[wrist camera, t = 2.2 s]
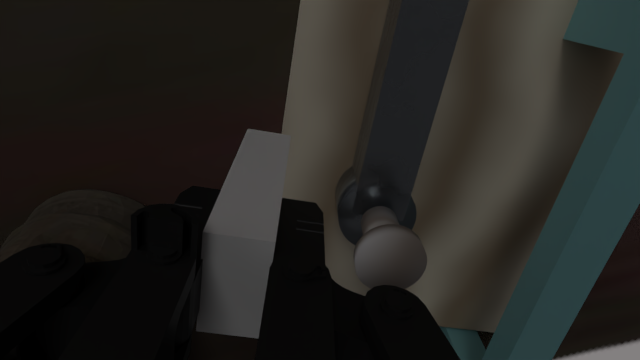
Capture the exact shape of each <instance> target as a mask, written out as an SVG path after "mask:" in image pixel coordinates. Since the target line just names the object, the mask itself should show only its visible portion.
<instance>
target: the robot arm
mask: <svg viewBox="0 0 640 360" xmlns="http://www.w3.org/2000/svg"><path fill="white" fill-rule="evenodd" d="M290 140H291V136H290V135H284V134H278V133H271V132H265V131H259V130H253V129H248V130H247V132H246V134H245V137H244V139H243V141H242V143H241V146H240V148H239V150H238V152H237V155H236V157H235V159H234V162H233V164H232V166H231V168H230V171H229V173H228V175H227V178H226V180H225V182H224V184H223V187H222V189H221V190H218V189H211V188H204V187H197V186H192V187H190V188H188V189H187V190H185V191H183V192H182V193H180V195H179V196H178V198H177V199H176V201H175V203H174V204H156V205H149V206H146V207H143V208H141V209H138V210H137V211H136V212H134V213H133V214H132V215H131V251H130V252H129V254H128V255H127V257H126V258H123V259H120V260H112V261H102V262H88V263H85V256H84V254H83V253H82V251H81V249H79V248H77V247H75V246H73V245H69V244H63V243H46V244H40V245H36V246H32V247H28V248H26V249H23V250H21V251H19V252H17V253H15V254H13V255H12V256H10V257H8V258H7V259H5V260H4V261H2V262H0V360H187V359H188V356H189V353H190V350H191V335H192V330H193V327H194V325H195V322H196V319H197V324H196V331H200V332H208V333H216V334H225V335H233V336H242V337H250V338H258V345H257V351H256V357H255V360H461V359H460V358H459V356H458V355H457V353H456V352H455V350H454V349H453V347H452V345H451V344H450V342H449V341H448V339H447V338H446V336H445V335H444V333H443V332H442V330H441V328H440V327H439V325H438V324H437V322H436V321H435V319H434V318H433V316H432V315H431V313H430V311H429V310H428V308H427V307H426V305H425V304H424V303H423V302H422V301H421V300H420V299H419V298H418V297H417V296H416V295H414V294H413V293H411V292H410V291H408V290H406V289H403V288H400V287H397V286H391V285H380V286H375V287H373V288H372V289H370V290H369V291H367V293H366V296H363V295H361V294H358V293H355V292H352V291H350V290H348V289H346V288H344V287H342V286H340V285H339V284H337V283H336V282H335V281H334V280H333V279H332V278H331V275H330V272H329V269H328V268H327V267H326V265H325V243H324V225H323V224H324V218H323V212H322V210H321V209H320V208H319V206H318V205H317V204H316V203H314V202H308V201H301V200H294V199H287V198H282V195H283V188H284V181H285V174H286V167H287V161H288V154H289V147H290ZM12 349H13V350H12ZM11 350H12V351H11Z"/></svg>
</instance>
